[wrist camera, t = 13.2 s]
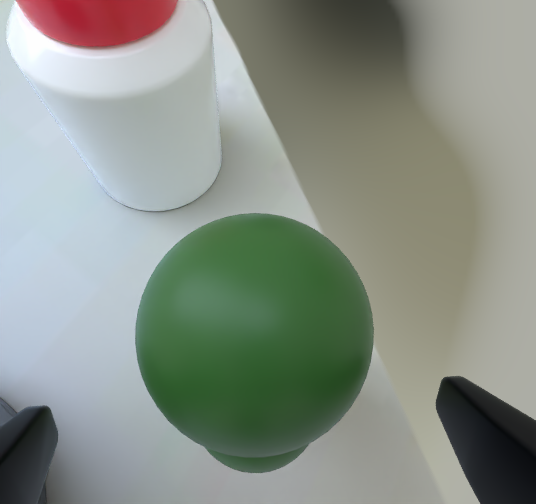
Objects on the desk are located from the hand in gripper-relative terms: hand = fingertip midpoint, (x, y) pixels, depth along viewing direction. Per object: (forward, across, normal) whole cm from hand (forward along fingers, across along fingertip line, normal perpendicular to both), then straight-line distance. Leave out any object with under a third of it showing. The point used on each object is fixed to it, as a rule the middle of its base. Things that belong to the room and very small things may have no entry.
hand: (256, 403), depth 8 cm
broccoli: (+8, 0, +5) cm, 9 cm away
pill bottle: (+17, +5, -3) cm, 18 cm away
